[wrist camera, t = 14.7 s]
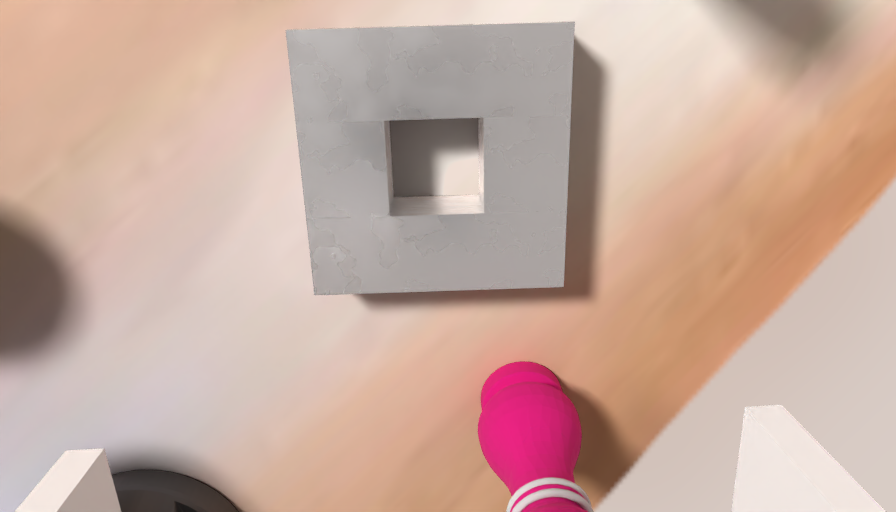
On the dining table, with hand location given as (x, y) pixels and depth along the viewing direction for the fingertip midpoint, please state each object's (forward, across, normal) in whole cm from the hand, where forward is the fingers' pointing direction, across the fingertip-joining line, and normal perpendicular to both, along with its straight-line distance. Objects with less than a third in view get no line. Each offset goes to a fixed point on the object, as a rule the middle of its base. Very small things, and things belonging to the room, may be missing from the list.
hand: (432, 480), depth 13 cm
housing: (+31, +1, +1) cm, 31 cm away
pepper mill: (+31, +7, -18) cm, 37 cm away
